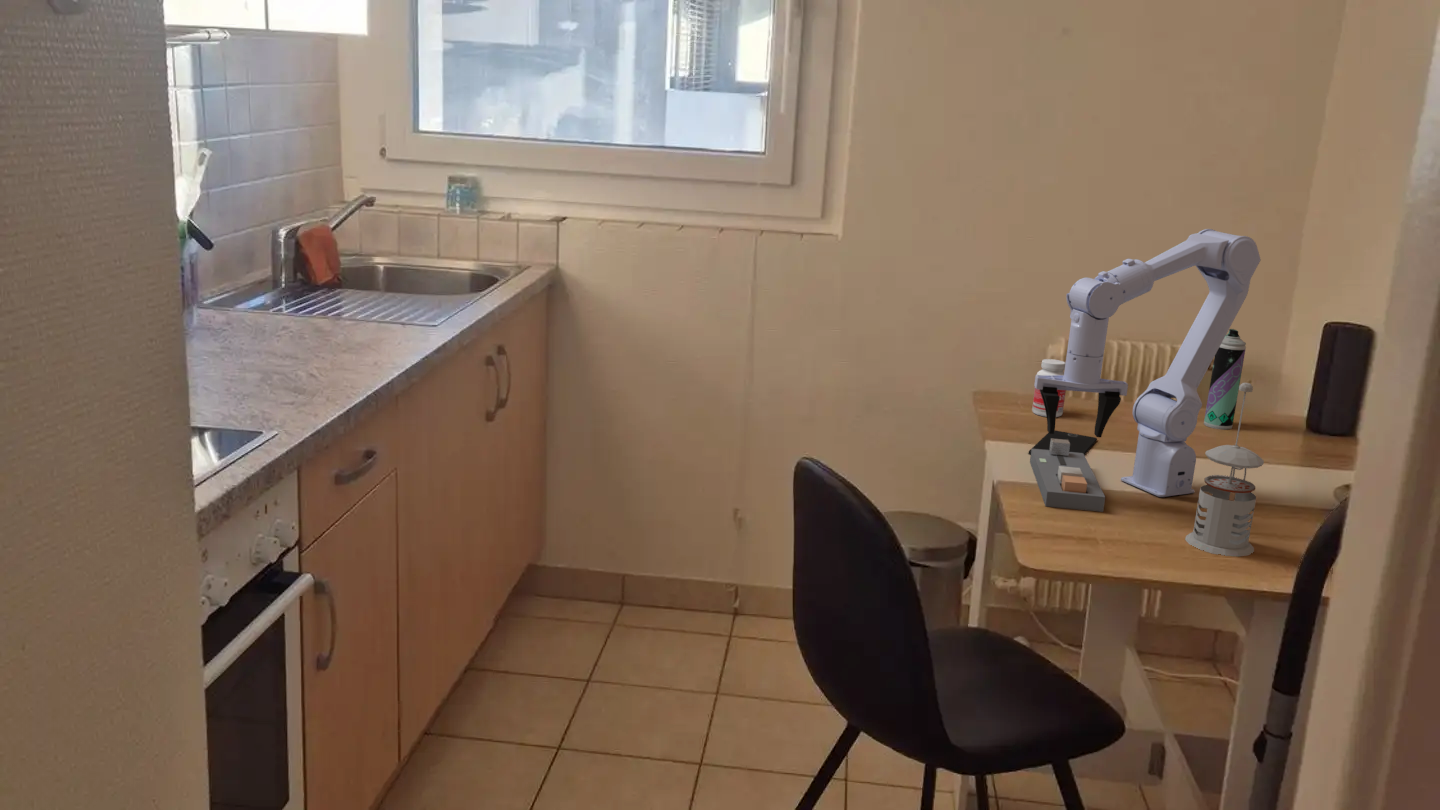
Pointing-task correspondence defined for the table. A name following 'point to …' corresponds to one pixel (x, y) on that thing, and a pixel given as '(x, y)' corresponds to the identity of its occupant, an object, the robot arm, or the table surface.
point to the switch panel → (1050, 487)
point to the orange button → (1074, 484)
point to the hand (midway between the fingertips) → (1074, 433)
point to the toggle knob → (1059, 447)
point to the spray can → (1225, 382)
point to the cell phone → (1076, 441)
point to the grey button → (1068, 472)
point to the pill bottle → (1057, 369)
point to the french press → (1227, 501)
